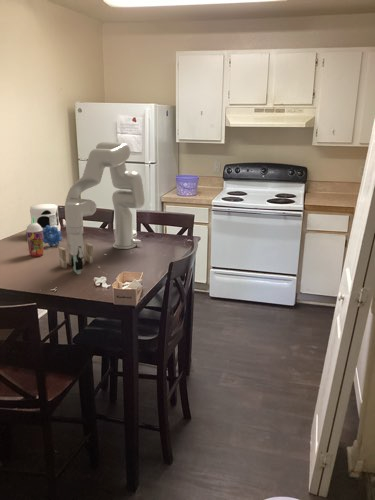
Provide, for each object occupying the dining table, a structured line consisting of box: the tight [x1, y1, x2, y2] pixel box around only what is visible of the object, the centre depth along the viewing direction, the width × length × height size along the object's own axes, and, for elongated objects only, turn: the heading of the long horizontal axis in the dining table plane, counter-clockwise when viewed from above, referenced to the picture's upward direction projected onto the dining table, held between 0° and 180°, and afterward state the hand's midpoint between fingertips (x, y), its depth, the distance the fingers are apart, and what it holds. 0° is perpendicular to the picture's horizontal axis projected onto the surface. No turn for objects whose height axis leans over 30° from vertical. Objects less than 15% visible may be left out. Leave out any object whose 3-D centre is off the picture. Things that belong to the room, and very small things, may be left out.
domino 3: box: [73, 254, 82, 275], centre depth 200 cm, size 2×5×9 cm, turn 34°
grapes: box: [42, 225, 63, 247], centre depth 239 cm, size 12×7×12 cm, turn 107°
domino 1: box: [58, 246, 67, 269], centre depth 208 cm, size 2×5×9 cm, turn 33°
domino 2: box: [67, 251, 71, 266], centre depth 211 cm, size 2×5×9 cm, turn 34°
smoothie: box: [25, 217, 44, 258], centre depth 223 cm, size 8×8×20 cm
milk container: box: [29, 203, 61, 232], centre depth 261 cm, size 17×17×18 cm
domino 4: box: [85, 242, 94, 264], centre depth 215 cm, size 2×5×9 cm, turn 34°
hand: (77, 267), depth 201 cm, fingers closed on domino 3, 4 cm apart
